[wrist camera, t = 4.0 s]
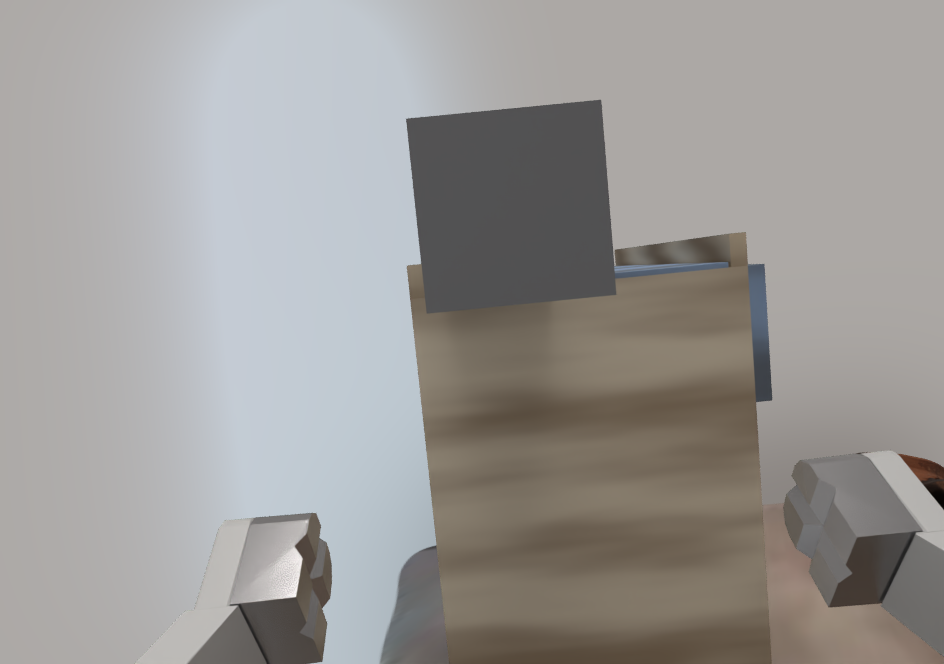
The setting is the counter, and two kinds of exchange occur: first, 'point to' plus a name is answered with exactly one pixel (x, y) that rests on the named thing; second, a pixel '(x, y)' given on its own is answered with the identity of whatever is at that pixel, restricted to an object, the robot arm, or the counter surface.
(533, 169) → the dark gray block
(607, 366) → the duct stand
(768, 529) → the counter surface
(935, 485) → the pottery mug
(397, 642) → the counter surface
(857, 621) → the counter surface
